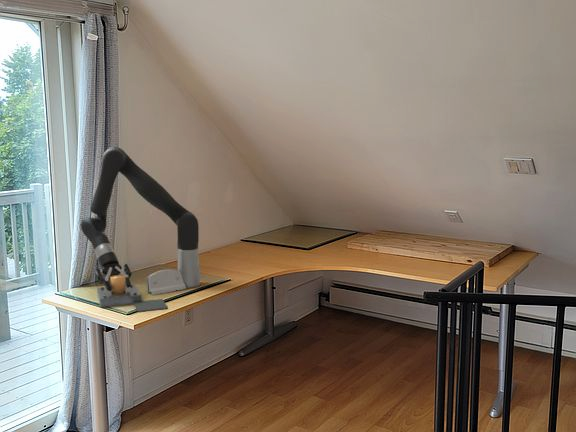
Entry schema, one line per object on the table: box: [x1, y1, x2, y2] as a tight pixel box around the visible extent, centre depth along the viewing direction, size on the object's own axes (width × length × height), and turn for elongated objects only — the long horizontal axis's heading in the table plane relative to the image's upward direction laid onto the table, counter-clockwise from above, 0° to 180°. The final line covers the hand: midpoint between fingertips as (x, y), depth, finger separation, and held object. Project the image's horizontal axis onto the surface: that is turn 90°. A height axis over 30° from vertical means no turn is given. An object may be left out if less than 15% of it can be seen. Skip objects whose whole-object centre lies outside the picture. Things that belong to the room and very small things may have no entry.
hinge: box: [146, 269, 187, 296], centre depth 268 cm, size 17×5×10 cm, turn 126°
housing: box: [96, 283, 142, 308], centre depth 254 cm, size 16×16×4 cm
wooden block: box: [109, 275, 126, 294], centre depth 254 cm, size 6×6×10 cm
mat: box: [133, 298, 169, 313], centre depth 247 cm, size 12×12×1 cm
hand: (119, 288), depth 253 cm, fingers open, 8 cm apart
